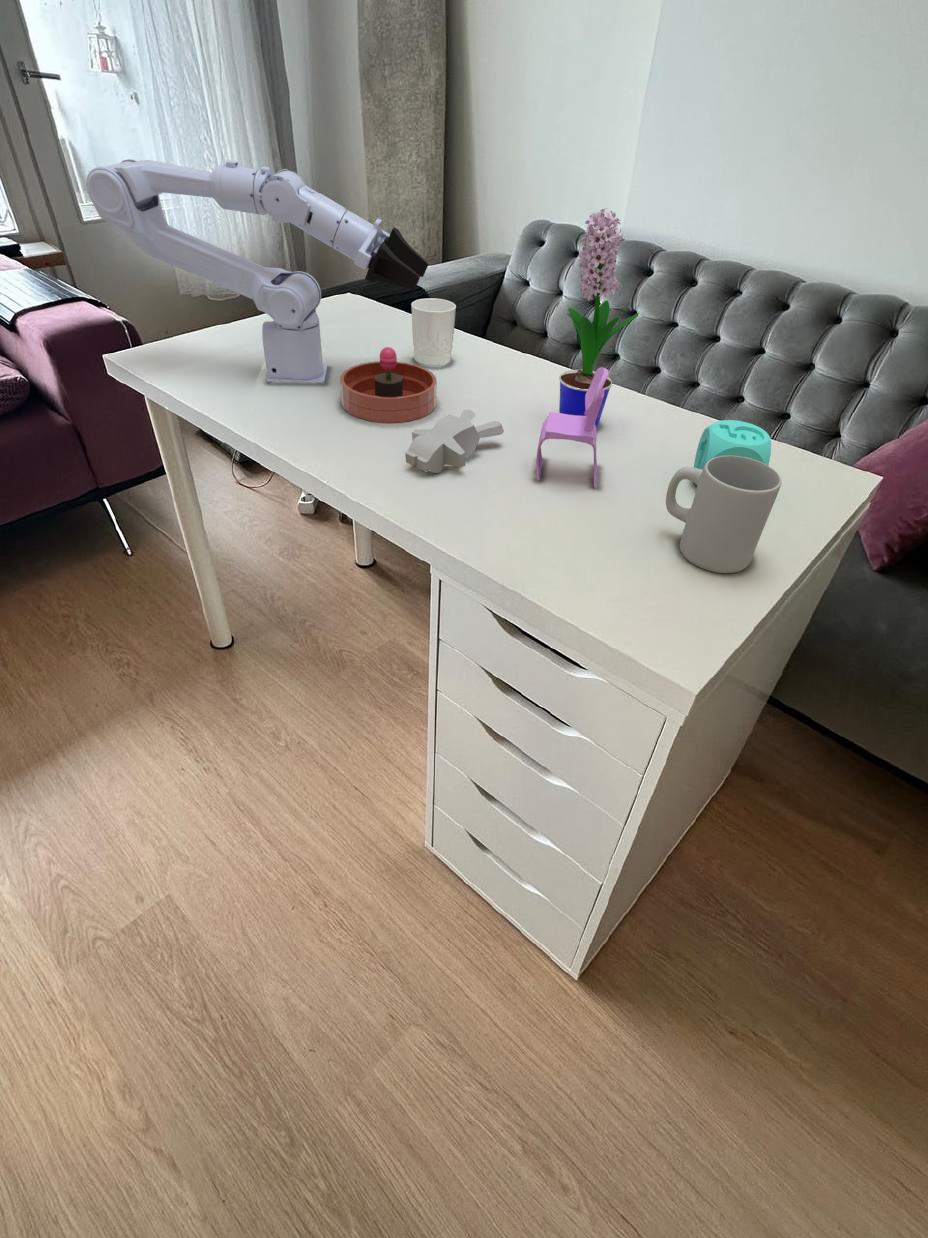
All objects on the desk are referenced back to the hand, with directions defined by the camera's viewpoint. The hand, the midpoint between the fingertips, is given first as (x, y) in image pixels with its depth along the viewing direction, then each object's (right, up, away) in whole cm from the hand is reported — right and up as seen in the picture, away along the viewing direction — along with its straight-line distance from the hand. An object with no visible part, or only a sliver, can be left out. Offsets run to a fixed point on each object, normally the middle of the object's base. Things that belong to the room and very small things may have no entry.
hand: (421, 277), depth 104 cm
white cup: (+1, -5, +21) cm, 22 cm away
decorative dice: (+43, -34, -9) cm, 56 cm away
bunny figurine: (+5, -30, -7) cm, 31 cm away
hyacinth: (+26, -22, +4) cm, 34 cm away
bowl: (-6, -18, +5) cm, 20 cm away
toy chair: (+21, -33, -9) cm, 40 cm away
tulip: (-6, -18, +5) cm, 19 cm away
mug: (+36, -44, -21) cm, 61 cm away
